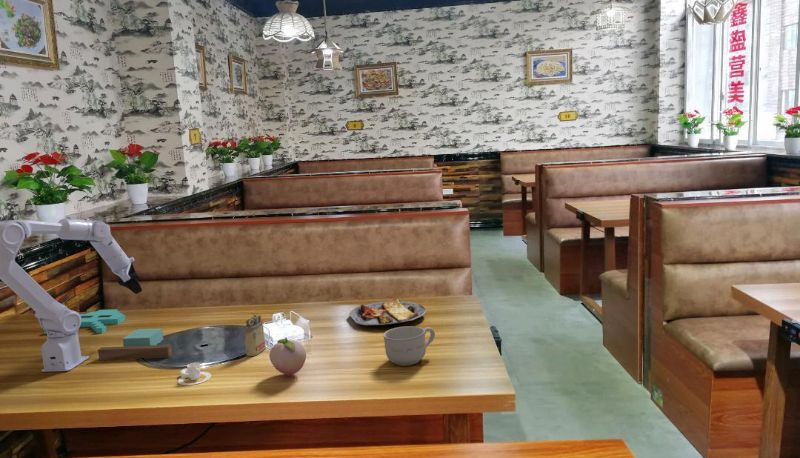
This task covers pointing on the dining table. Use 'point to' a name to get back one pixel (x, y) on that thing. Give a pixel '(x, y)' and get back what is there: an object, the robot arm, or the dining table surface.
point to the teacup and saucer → (192, 374)
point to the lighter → (254, 336)
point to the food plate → (387, 312)
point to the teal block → (143, 337)
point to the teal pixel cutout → (100, 319)
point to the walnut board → (134, 352)
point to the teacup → (407, 344)
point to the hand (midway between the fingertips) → (137, 285)
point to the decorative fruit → (288, 356)
